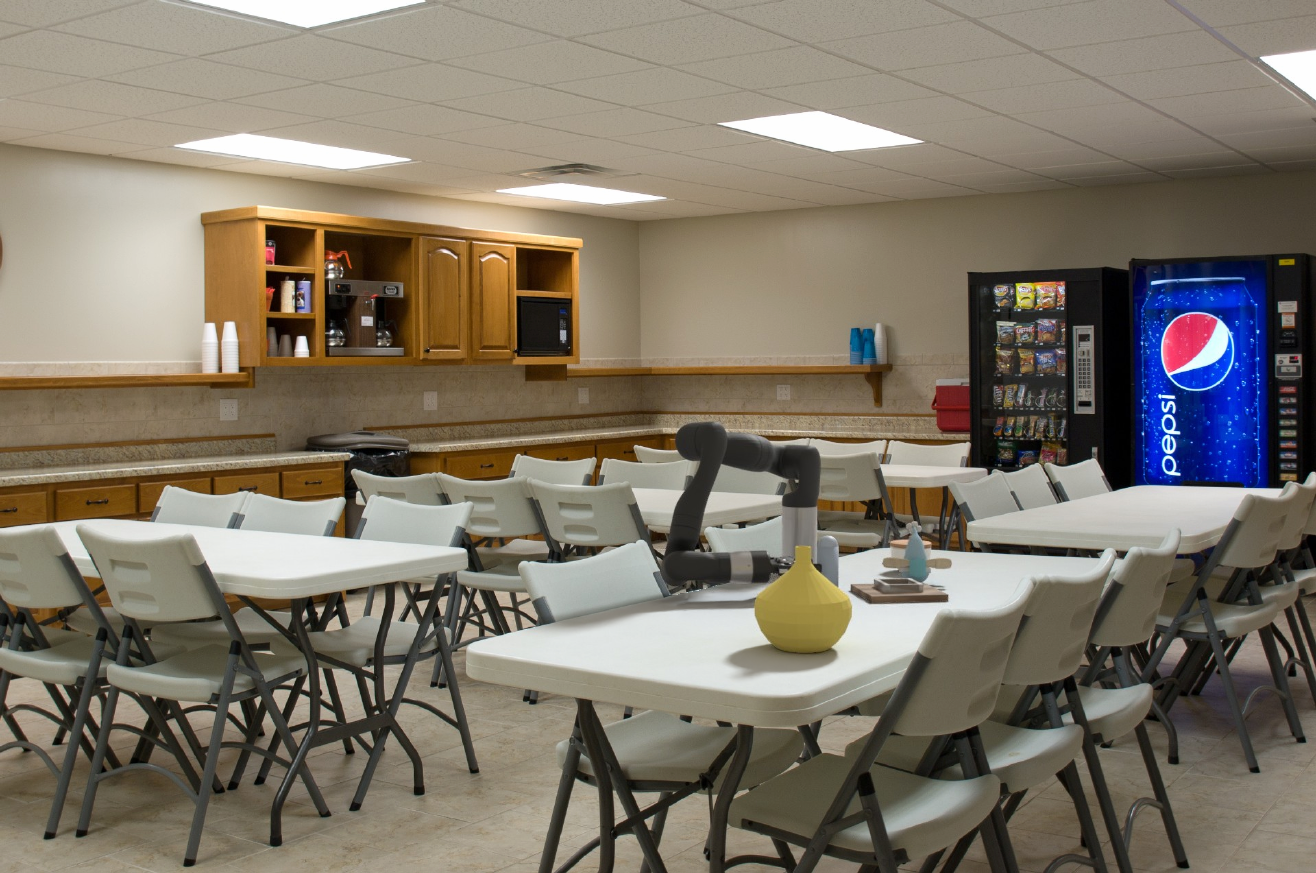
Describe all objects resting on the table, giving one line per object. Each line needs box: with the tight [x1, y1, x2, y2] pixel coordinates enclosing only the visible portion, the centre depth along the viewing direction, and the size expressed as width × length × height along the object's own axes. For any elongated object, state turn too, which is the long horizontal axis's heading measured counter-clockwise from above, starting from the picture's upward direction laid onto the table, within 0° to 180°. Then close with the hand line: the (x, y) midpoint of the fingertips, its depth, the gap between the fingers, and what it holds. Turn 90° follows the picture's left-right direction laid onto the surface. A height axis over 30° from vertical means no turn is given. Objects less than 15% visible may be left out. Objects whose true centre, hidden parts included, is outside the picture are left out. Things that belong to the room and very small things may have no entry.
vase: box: [753, 546, 853, 654], centre depth 235 cm, size 18×18×19 cm
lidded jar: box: [889, 535, 932, 573], centre depth 328 cm, size 11×11×9 cm
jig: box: [850, 577, 949, 604], centre depth 291 cm, size 17×18×3 cm
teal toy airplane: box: [881, 521, 953, 583], centre depth 309 cm, size 17×10×15 cm, turn 84°
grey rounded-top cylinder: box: [817, 535, 840, 588], centre depth 289 cm, size 5×5×14 cm
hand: (816, 565), depth 289 cm, fingers open, 8 cm apart
